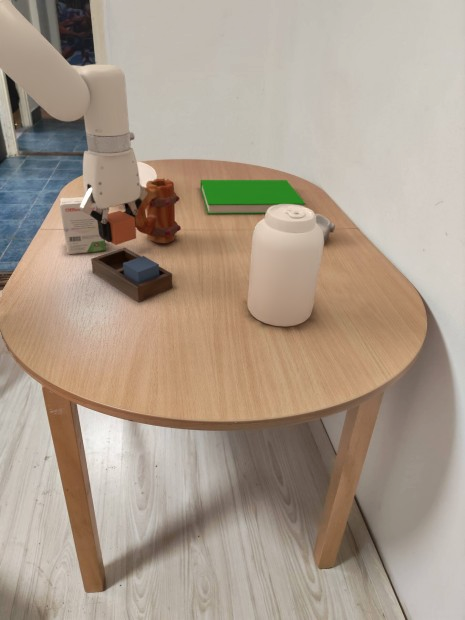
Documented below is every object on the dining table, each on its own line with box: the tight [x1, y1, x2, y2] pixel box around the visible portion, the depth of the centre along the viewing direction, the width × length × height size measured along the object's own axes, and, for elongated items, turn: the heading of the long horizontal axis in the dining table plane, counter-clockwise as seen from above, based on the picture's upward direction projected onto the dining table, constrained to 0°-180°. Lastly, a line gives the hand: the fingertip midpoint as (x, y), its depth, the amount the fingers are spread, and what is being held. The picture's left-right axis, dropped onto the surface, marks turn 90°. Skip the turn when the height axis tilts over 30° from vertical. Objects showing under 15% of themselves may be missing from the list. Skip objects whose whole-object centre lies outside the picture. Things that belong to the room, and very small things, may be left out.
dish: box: [315, 213, 336, 243], centre depth 115 cm, size 14×14×5 cm
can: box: [246, 204, 325, 327], centre depth 82 cm, size 12×12×20 cm
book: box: [200, 179, 306, 215], centre depth 138 cm, size 22×28×3 cm
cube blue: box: [123, 255, 160, 284], centre depth 90 cm, size 5×5×4 cm
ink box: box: [59, 196, 107, 255], centre depth 102 cm, size 8×5×12 cm, turn 109°
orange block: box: [107, 210, 137, 246], centre depth 91 cm, size 5×5×4 cm
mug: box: [135, 178, 182, 244], centre depth 106 cm, size 15×8×15 cm, turn 152°
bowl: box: [137, 161, 158, 187], centre depth 136 cm, size 30×15×6 cm, turn 11°
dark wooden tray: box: [90, 247, 173, 303], centre depth 93 cm, size 8×16×3 cm, turn 46°
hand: (118, 235), depth 92 cm, fingers closed on orange block, 5 cm apart
